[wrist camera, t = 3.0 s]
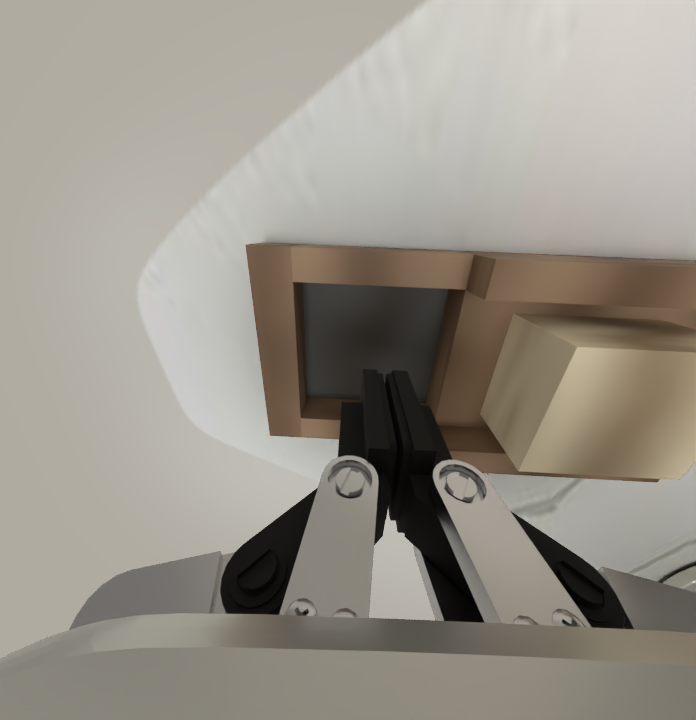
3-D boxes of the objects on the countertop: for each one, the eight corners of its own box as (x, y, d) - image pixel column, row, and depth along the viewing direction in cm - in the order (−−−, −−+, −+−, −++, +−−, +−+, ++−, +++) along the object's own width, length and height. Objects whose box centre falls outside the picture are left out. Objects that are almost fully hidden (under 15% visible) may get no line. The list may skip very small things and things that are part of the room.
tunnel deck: (868, 268, 13) (1093, 284, 9) (720, 433, 18) (824, 491, 14) (264, 242, 14) (224, 247, 10) (280, 410, 19) (259, 460, 14)
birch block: (662, 320, 12) (789, 357, 9) (601, 420, 15) (679, 479, 11) (513, 313, 12) (577, 346, 9) (479, 414, 15) (518, 471, 11)
